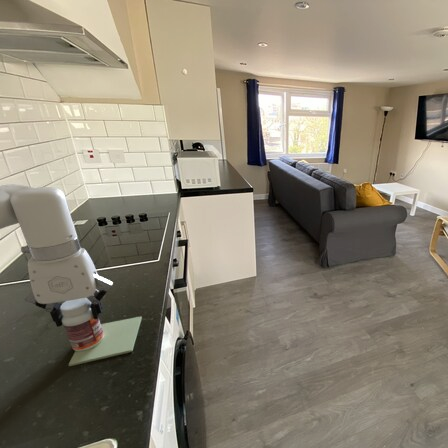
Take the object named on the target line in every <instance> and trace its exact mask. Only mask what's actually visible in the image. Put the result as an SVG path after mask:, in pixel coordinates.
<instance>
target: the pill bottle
mask: <svg viewBox="0 0 448 448" xmlns="http://www.w3.org/2000/svg"><path fill="white" fill-rule="evenodd" d="M61 304H62V305H61V307H60V309H61V312H62V315H63V317H62V323H63V324H62V325H63V328H64V331H65V334H66V336H67V338H68V341H69V344H70V346H71V348H72V350H74V351H84V350H88V349H90V348H93V347H94V346H96V345H97V344H99V343H100V342H101V341H102V339H103V337H104V333H103V329H102V327H101V324H102V323H101V320H100V318H99V319H96V320H95V319H94V317H93V314H92V311H91V308H90V305H91V304H92V303H91V302H90V301H89V300H88V299H87V298H81V299H75V300H69V301H63V303H61Z"/></svg>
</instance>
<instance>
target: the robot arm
mask: <svg viewBox="0 0 448 448" xmlns="http://www.w3.org/2000/svg"><path fill="white" fill-rule="evenodd" d="M13 225H19V227H20V230H21V232H22V235H23V239H24V240H25V242H26V245H23V246H21V247H20V252H21V253H22V254H29V256H30V257H29V259H28V260H27V270H28V278H29V283H30V287H31V290H30V291H29V293H28V294H26V296H25V297H24V298H23V300H24V301H25V302H27V303H30V304H33V305H35V306H36V307H38V308H41V309H43V310H44V311H45V312H46V313H50V316H51V319H52V322H53V323H55V325H56V327H62V325H63V323H62V317H63V315H62V312H61V309H60V307H61V305H62V304H63V303H64V302H66V301H69V300H75V299H81V298H87V299H88V300H89V301H90V302H91V305H90V308H91V311H92V314H93V317H94V319H95V320H96V319H99V320H100V316H101V315H102V314H103V313H104V306H103V305H104V304H103V302H102V299H103V298H104V297H105V296H106V294H107V293H108V292H110V290H111V289H112V287H114V286H113V285H114V282H113V281H111V280H110V279H107V278H105V277H103V276H100V275H99V274H98V271H97V269H96V265H95V264H94V261H93V260H92V258H91V256H90V255H89V252H88V251H87V250H86V249H85V248H84V247H82V246H81V244H80V240H79V237H78V235H77V231H76V227H75V224H74V221H73V218H72V215H71V212H70V208H69V206H68V202H67V197H66V195H65V193H64V192H63V190H61V189H60V188H57V187H52V186H42V187H41V186H40V187H39V186H38V187H32V186H27V185H24V184H23V185H22V184H4V185H3V184H2V185H0V230H3V229H5V228H8V227H10V226H13ZM98 286H100V287H102V288H100V290H99V289H98V288H97V287H98ZM62 302H63V303H62Z"/></svg>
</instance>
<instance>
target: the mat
mask: <svg viewBox="0 0 448 448" xmlns="http://www.w3.org/2000/svg"><path fill="white" fill-rule="evenodd" d="M142 319H143V317H142V316H136V317H130V318H127V319H119V320H115V321H111V322H105V323H100V324H101V327H102V329H103V333H104V337H103V339H102V341H101V342H100V343H99V344H97V345H96V346H94V347H93V348H90V349H88V350H84V351H76V350H74V353H73V355H72V357H71V358H70V360H69V363H68V367H73V366H77V365H80V364H81V365H82V364H87V363H90V362H94V361H99V360H102V359H107V358H113V357H116V356H120V355H124V354H129V353H132V352H133V350H134V347H135V344H136V340H137V336H138V333H139V330H140V326H141V322H142Z"/></svg>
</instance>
